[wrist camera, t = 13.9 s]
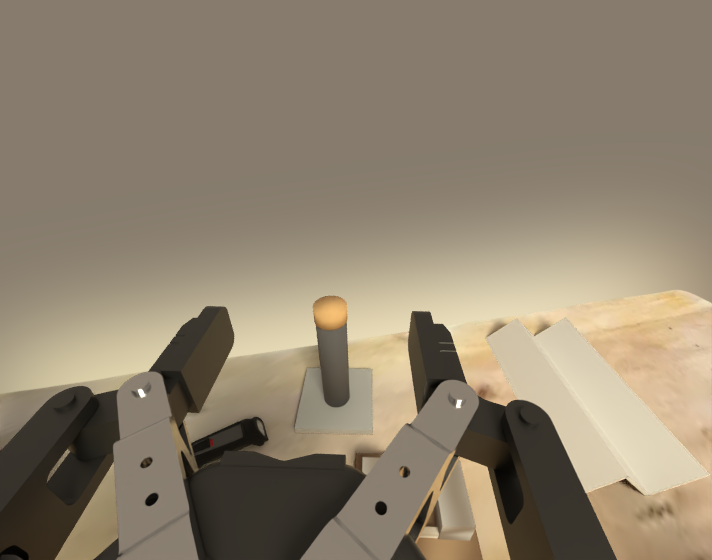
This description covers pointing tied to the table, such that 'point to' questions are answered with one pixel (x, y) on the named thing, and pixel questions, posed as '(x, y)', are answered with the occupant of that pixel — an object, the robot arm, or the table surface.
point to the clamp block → (443, 518)
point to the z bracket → (592, 410)
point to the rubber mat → (340, 419)
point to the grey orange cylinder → (333, 348)
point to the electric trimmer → (229, 440)
